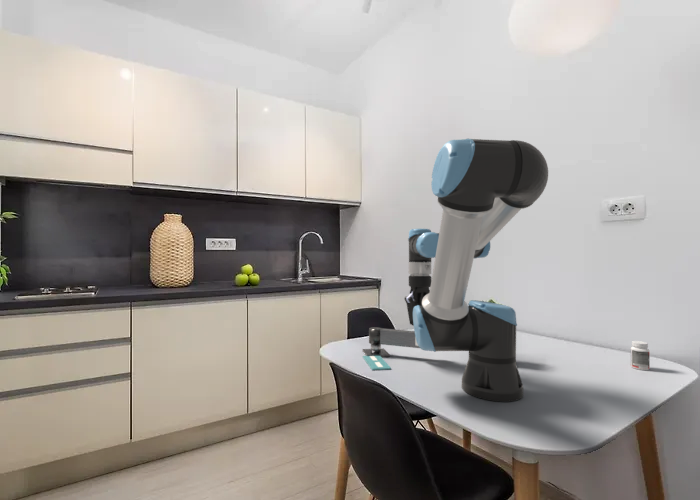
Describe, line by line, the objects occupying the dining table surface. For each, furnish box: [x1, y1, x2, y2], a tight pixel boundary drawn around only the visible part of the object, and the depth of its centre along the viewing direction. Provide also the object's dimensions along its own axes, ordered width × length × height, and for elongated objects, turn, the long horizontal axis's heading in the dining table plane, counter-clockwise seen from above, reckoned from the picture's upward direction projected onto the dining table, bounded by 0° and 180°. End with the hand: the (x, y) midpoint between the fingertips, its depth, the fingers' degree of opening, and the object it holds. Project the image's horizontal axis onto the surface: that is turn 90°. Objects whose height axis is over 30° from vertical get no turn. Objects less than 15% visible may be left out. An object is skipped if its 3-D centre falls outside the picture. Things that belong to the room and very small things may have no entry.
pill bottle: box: [630, 340, 651, 371], centre depth 116 cm, size 5×5×8 cm
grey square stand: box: [362, 344, 391, 358], centre depth 129 cm, size 8×8×4 cm
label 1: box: [362, 355, 385, 364], centre depth 121 cm, size 7×6×1 cm
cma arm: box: [368, 326, 420, 349], centre depth 126 cm, size 24×5×5 cm, turn 70°
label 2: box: [366, 360, 392, 371], centre depth 114 cm, size 7×6×1 cm
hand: (419, 345), depth 120 cm, fingers closed
